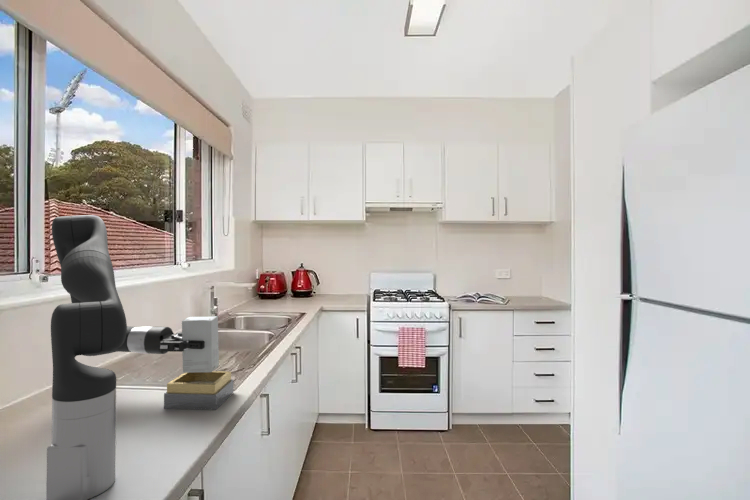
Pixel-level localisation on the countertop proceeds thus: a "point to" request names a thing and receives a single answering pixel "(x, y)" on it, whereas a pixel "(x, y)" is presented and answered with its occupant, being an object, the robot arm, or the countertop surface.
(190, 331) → the skincare box
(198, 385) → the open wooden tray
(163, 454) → the countertop surface
